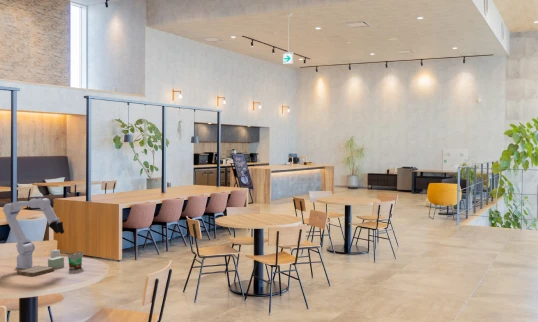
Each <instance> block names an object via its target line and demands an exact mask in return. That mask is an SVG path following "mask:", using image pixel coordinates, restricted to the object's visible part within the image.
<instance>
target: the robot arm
mask: <svg viewBox="0 0 538 322" xmlns="http://www.w3.org/2000/svg"><path fill="white" fill-rule="evenodd" d="M23 207H29V208H31V209H40V210H41V211H42V212H43V215H44V216H45V217H46V220H47V224H48V225H47V226H48V228H50V229H51V230H52V231H53V232H54V233H55V234H59V233H60V234H61V235H62V234H64V233H65V230H64V222H63V221H60V220H61V218H60V217H58V216H57V215H56V213H55V211H54V209H53V207H52V206H51V200H50V199H49V198H48V197H47V198H46V197H45V198H41V197H39V198H34V197H33V198H31V199H30V200H28V201H27V200H25V201H22V200H21V201H20V200H19V201H13V202H10V203H5V204H4V206H3V209H2V211H3V213H4V216H5V219H6V222H7V224H8V226H9V228H10V229H11V231H12V233H13V236H14V237H15V239H16V241H17V243H16V251H17V253H18V254H17V256H16V266H15V268H16V269H21V270H23V269H27V268H31V267H35V266H36V265H33V254H34V251H35V249H36V246H35V244H34V243H33V242H32V241H31V240H30V239H29V238H27V236H26V235H25V232H24V231H23V229H22V227H21V226H20V224H19V221H18V220H17V217H18V215H19V214H20V212H21V210H22V208H23Z"/></svg>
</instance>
